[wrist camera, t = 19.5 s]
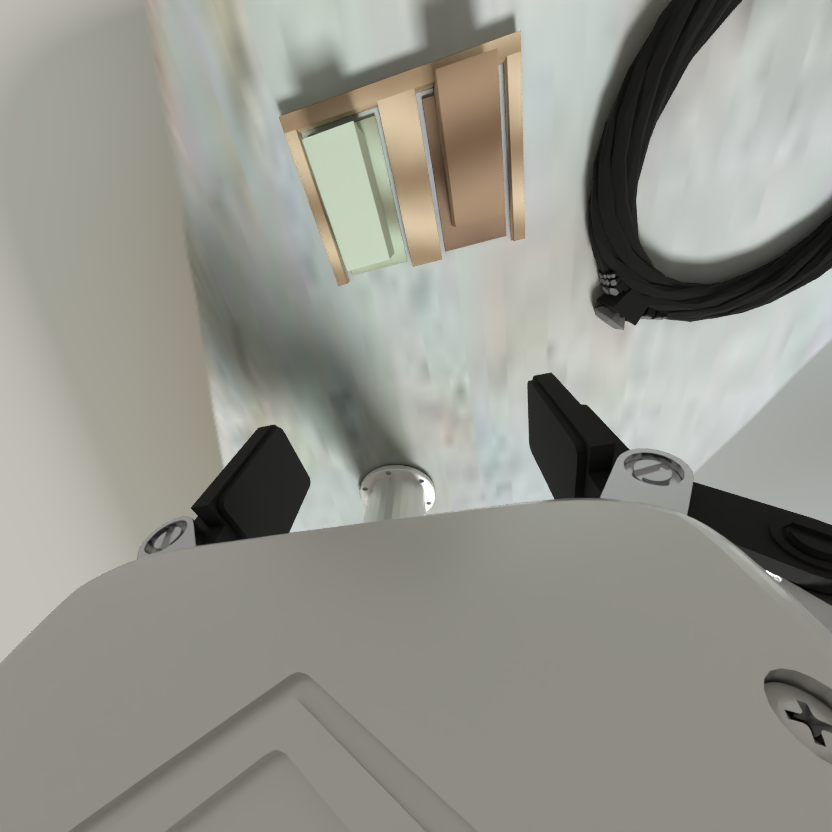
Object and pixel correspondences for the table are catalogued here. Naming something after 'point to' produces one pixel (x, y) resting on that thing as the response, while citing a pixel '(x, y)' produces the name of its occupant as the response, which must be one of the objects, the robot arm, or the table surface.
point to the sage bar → (350, 194)
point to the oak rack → (414, 159)
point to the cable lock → (618, 179)
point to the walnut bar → (471, 137)
